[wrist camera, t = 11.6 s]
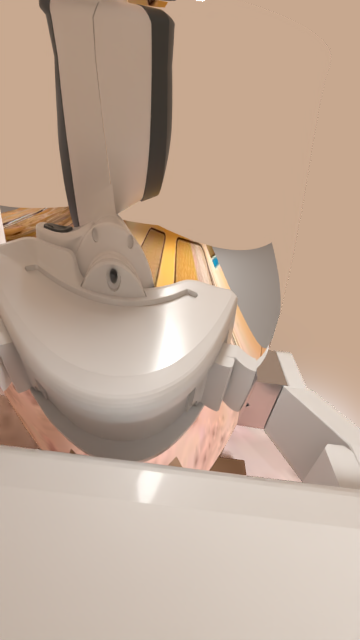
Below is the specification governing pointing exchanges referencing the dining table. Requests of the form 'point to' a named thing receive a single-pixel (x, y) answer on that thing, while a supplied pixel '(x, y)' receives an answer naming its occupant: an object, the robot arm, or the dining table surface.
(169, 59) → the beer glass
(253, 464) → the dining table surface
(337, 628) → the robot arm
